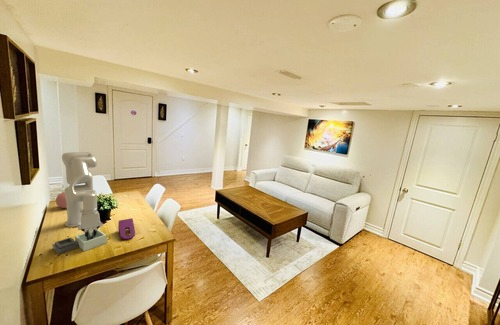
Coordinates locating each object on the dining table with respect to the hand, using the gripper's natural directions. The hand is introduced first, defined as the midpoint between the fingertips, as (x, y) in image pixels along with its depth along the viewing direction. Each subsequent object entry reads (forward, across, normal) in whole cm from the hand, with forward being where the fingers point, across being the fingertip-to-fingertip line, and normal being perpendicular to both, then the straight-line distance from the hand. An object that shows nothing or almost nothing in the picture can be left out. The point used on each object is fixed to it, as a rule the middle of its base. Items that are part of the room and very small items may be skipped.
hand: (91, 235), depth 140 cm
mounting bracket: (+6, +22, +2) cm, 23 cm away
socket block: (+6, -13, +1) cm, 15 cm away
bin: (+6, 0, 0) cm, 6 cm away
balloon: (+6, -14, +82) cm, 83 cm away
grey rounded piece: (+3, 0, 0) cm, 3 cm away
